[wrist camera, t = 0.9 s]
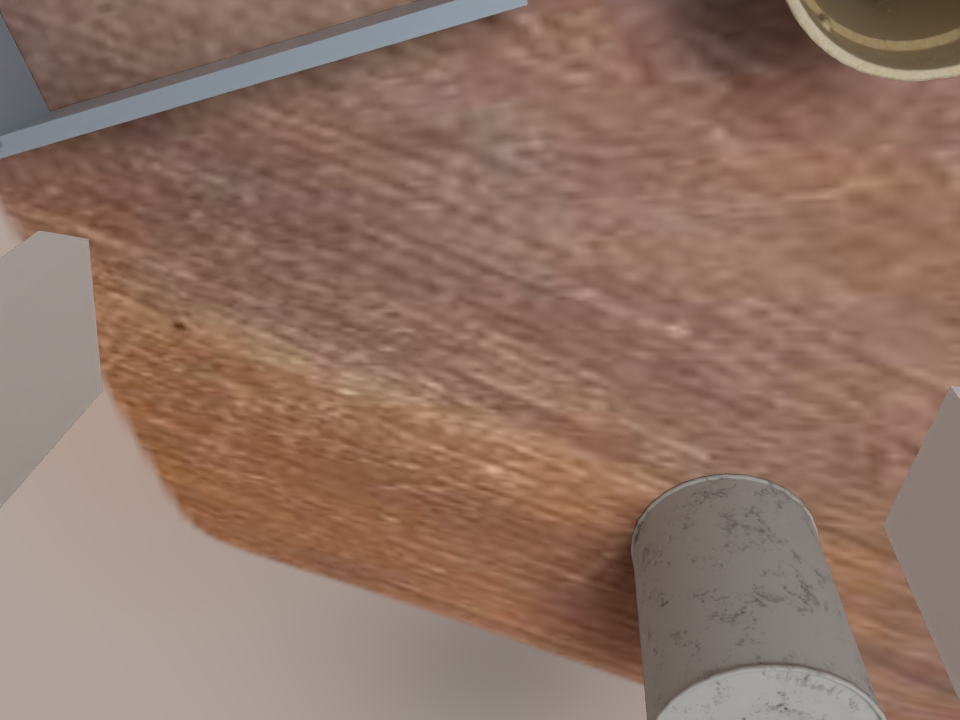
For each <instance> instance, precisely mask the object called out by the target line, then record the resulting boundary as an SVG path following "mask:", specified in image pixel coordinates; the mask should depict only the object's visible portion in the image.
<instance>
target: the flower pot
mask: <svg viewBox="0 0 960 720" xmlns="http://www.w3.org/2000/svg"><path fill="white" fill-rule="evenodd" d="M786 2H787V4H788V6H789V8H790V10H791V12H792V14H793V16H794V17H795V19H796V20H797V22H798V23H799V25H800V26H801V27H802V29H803V30H804V31H805V32H806V33H807V35H808V36H809V37H810V38H811V39H812V40H813V41H814V42H815V43H816V44H817V45H818V46H819V47H820V48H821V49H823V50H824V51H825V52H826V53H827V54H829V55H830V56H832V57H833V58H835V59H837V60H838V61H839V62H841V63H842V64H844V65H847V66H849V67H851V68H853V69H855V70H857V71H860V72H862V73H865V74H868V75H872V76H876V77H879V78H885V79H889V80H899V81H924V80H933V79H941V78H948V77H953V76H958V75H960V0H786Z"/></svg>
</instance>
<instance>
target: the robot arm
mask: <svg viewBox="0 0 960 720" xmlns="http://www.w3.org/2000/svg"><path fill="white" fill-rule="evenodd" d="M102 391H103V390H102V379H101V368H100V358H99V347H98V336H97V325H96V314H95V304H94V293H93V282H92V271H91V260H90V249H89V239H86V238H80V237H74V236H68V235H62V234H57V233H51V232H45V231H38V232H36V233H35V234H33V235H32V236H31V237H29V238H28V239H26V240H25V241H24V242H22V243H21V244H20V245H18V246H17V247H15V248H14V249H13V250H11V251H10V252H8V253H7V254H6V255H4V256H3V257H1V258H0V508H1V507H2V506H3V504H4V503H5V502H6V501H7V500H8V499H9V497H10V496H11V495H12V494H13V493H14V492H15V491H16V489H17V488H18V487H19V486H20V485H21V484H22V483H23V481H24V480H25V479H26V478H27V477H28V476H29V475H30V473H31V472H32V471H33V470H34V469H35V468H36V466H37V465H38V464H39V463H40V462H41V461H42V460H43V458H44V457H45V456H46V455H47V454H48V453H49V452H50V450H51V449H52V448H53V447H54V445H56V443H57V442H58V441H59V440H60V439H61V438H62V437H63V435H64V434H65V433H66V432H67V431H68V430H69V429H70V427H71V426H72V425H73V424H74V423H75V422H76V421H77V419H78V418H79V417H80V416H81V415H82V414H83V413H84V411H85V410H86V409H87V408H88V407H89V406H90V404H91V403H92V402H93V401H94V400H95V399H96V398H97V396H98V395H99V394H100V393H101V392H102ZM883 527H884V529H885V532H886V534H887V536H888V539H889V541H890V543H891V545H892V548H893V550H894V552H895V555H896V557H897V559H898V561H899V564H900V566H901V568H902V571H903V573H904V575H905V577H906V580H907V582H908V584H909V586H910V589H911V591H912V593H913V596H914V598H915V600H916V602H917V605H918V607H919V609H920V612H921V614H922V616H923V618H924V621H925V623H926V625H927V628H928V630H929V632H930V634H931V637H932V639H933V641H934V644H935V646H936V648H937V650H938V653H939V655H940V657H941V660H942V662H943V664H944V666H945V669H946V671H947V673H948V676H949V678H950V680H951V682H952V685H953V687H954V689H955V692H956V694H957V696H958V698H959V701H960V387H954V386H950V388H949V391H948V393H947V395H946V397H945V399H944V401H943V403H942V405H941V407H940V409H939V411H938V413H937V415H936V417H935V419H934V421H933V423H932V425H931V428H930V430H929V432H928V434H927V436H926V438H925V440H924V442H923V444H922V446H921V448H920V450H919V452H918V454H917V456H916V458H915V460H914V462H913V465H912V467H911V469H910V471H909V473H908V475H907V477H906V479H905V481H904V483H903V485H902V487H901V489H900V491H899V493H898V495H897V497H896V499H895V502H894V504H893V506H892V508H891V510H890V512H889V514H888V516H887V518H886V520H885V522H884V524H883Z"/></svg>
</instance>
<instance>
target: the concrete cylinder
mask: <svg viewBox="0 0 960 720" xmlns="http://www.w3.org/2000/svg"><path fill="white" fill-rule="evenodd" d="M631 556H632V561H633V566H634V574H635V585H636V597H637V608H638V620H639V631H640V643H641V655H642V666H643V678H644V689H645V701H646V712H647V720H886V718H885V715H884V713H883V711H882V710H881V708H880V707H879V705H878V702H877V699H876V697H875V694H874V691H873V688H872V686H871V683H870V680H869V677H868V675H867V672H866V669H865V666H864V663H863V661H862V658H861V655H860V652H859V650H858V647H857V644H856V641H855V638H854V636H853V633H852V630H851V627H850V625H849V622H848V619H847V616H846V614H845V611H844V608H843V605H842V602H841V600H840V597H839V594H838V591H837V589H836V586H835V583H834V580H833V577H832V575H831V572H830V569H829V566H828V564H827V561H826V558H825V555H824V553H823V550H822V547H821V544H820V541H819V539H818V530H817V528H816V525H815V522H814V520H813V517H812V515H811V513H810V512H809V511H808V509H807V508H806V507H805V505H804V504H803V503H802V501H801V500H800V499H798V498H797V497H796V496H794V495H793V494H792V493H791V492H789V491H788V490H787V489H785V488H783V487H781V486H779V485H777V484H775V483H773V482H771V481H768V480H766V479H761V478H757V477H753V476H749V475H739V474H719V475H711V476H703V477H700V478H697V479H693V480H690V481H687V482H684V483H681V484H679V485H678V486H676V487H674V488H672V489H670V490H668V491H666V492H665V493H663V494H662V495H661V496H660V497H658V498H657V499H656V500H655V501H654V502H652V503H651V504H650V505H649V506H648V508H647V509H646V510H645V512H644V513H643V514H642V516H641V517H640V518H639V520H638V522H637V525H636V527H635V530H634V532H633V535H632V543H631Z"/></svg>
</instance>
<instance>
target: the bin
mask: <svg viewBox="0 0 960 720" xmlns="http://www.w3.org/2000/svg"><path fill="white" fill-rule="evenodd" d="M528 3H529V0H419V1H416V2H412V3H409V4H406V5H402V6H399V7H396V8H392V9H389V10H386V11H382V12H379V13H376V14H372V15H369V16H366V17H362V18H359V19H356V20H352V21H349V22H346V23H342V24H339V25H336V26H332V27H329V28H326V29H322V30H319V31H316V32H312V33H309V34H306V35H302V36H299V37H296V38H292V39H289V40H286V41H283V42H279V43H276V44H273V45H269V46H266V47H263V48H259V49H256V50H253V51H249V52H246V53H243V54H239V55H236V56H233V57H229V58H226V59H223V60H219V61H216V62H213V63H209V64H206V65H203V66H199V67H196V68H193V69H189V70H186V71H183V72H179V73H176V74H173V75H169V76H166V77H163V78H159V79H156V80H153V81H149V82H146V83H143V84H140V85H136V86H133V87H130V88H126V89H123V90H120V91H116V92H113V93H110V94H106V95H103V96H100V97H96V98H93V99H90V100H86V101H83V102H80V103H76V104H73V105H70V106H66V107H63V108H60V109H56V110H53V111H49V109H48V107H47V105H46V103H45V101H44V99H43V97H42V95H41V93H40V91H39V89H38V87H37V85H36V83H35V81H34V79H33V77H32V75H31V73H30V71H29V69H28V67H27V65H26V63H25V61H24V59H23V57H22V55H21V53H20V51H19V49H18V47H17V45H16V43H15V41H14V39H13V37H12V35H11V33H10V31H9V29H8V27H7V25H6V23H5V21H4V19H3V17H2V15H1V13H0V159H1V158H4V157H7V156H11V155H14V154H18V153H21V152H25V151H28V150H31V149H35V148H38V147H42V146H45V145H49V144H52V143H55V142H59V141H62V140H66V139H69V138H73V137H76V136H79V135H83V134H86V133H90V132H93V131H97V130H100V129H103V128H107V127H110V126H114V125H117V124H121V123H124V122H127V121H131V120H134V119H138V118H141V117H145V116H148V115H151V114H155V113H158V112H162V111H165V110H169V109H172V108H175V107H179V106H182V105H186V104H189V103H193V102H196V101H199V100H203V99H206V98H210V97H213V96H217V95H220V94H223V93H227V92H230V91H234V90H237V89H241V88H244V87H247V86H251V85H254V84H258V83H261V82H265V81H268V80H271V79H275V78H278V77H282V76H285V75H289V74H292V73H295V72H299V71H302V70H306V69H309V68H313V67H316V66H319V65H323V64H326V63H330V62H333V61H337V60H340V59H343V58H347V57H350V56H354V55H357V54H361V53H364V52H367V51H371V50H374V49H378V48H381V47H385V46H388V45H391V44H395V43H398V42H402V41H405V40H409V39H412V38H415V37H419V36H422V35H426V34H429V33H433V32H436V31H439V30H443V29H446V28H450V27H453V26H457V25H460V24H463V23H467V22H470V21H474V20H477V19H481V18H484V17H487V16H491V15H494V14H498V13H501V12H505V11H508V10H511V9H515V8H518V7H522V6H525V5H528Z"/></svg>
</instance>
